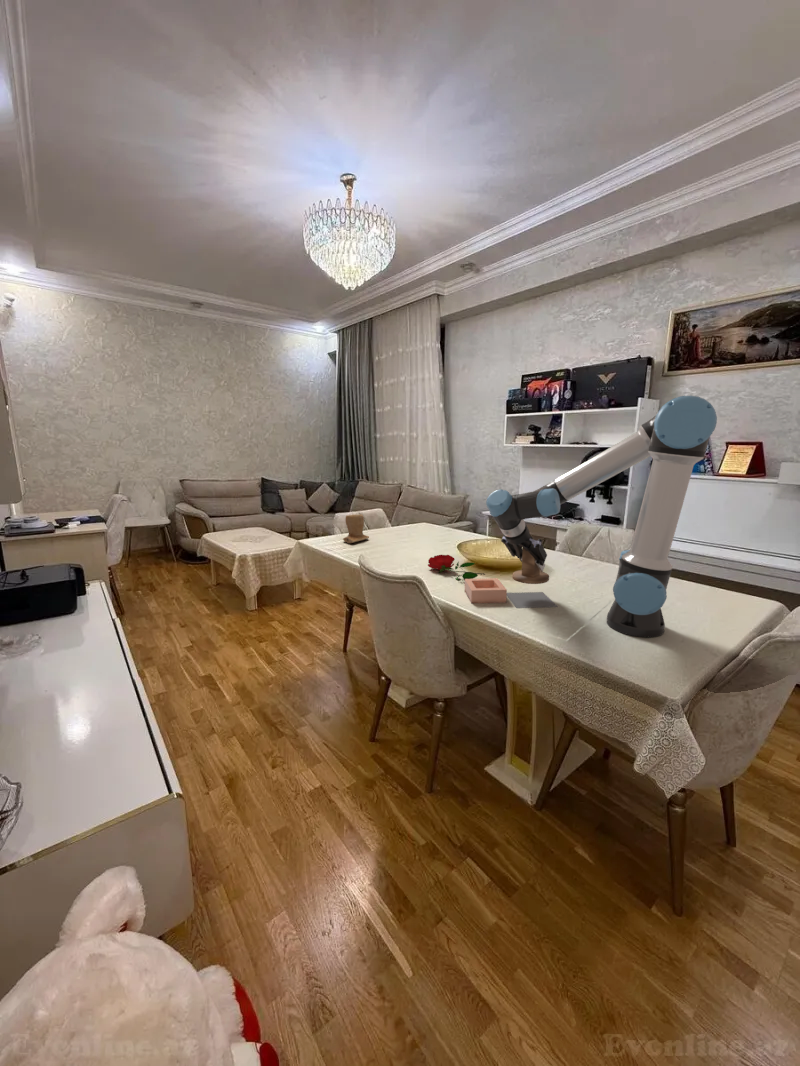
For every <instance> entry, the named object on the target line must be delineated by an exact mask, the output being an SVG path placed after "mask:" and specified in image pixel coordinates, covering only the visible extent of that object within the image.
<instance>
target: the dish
mask: <svg viewBox="0 0 800 1066" xmlns="http://www.w3.org/2000/svg"><path fill="white" fill-rule="evenodd" d="M507 591H508V589H507V588H506V587H505V585H504V584H502V582H501V581H500V580H499V578H497V577H495V578H494V577H492V578H490V577H489V578H486V577H485V578H473V579H464V593H465V595H466V597H467V599H468V601H469V602H470V604H502V603H504V604H505V603H507V593H508V592H507Z"/></svg>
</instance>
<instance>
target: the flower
mask: <svg viewBox="0 0 800 1066" xmlns="http://www.w3.org/2000/svg"><path fill="white" fill-rule="evenodd" d="M454 561H455V558H454V557H453V556H452V555H450V554H438V555H434V556H431V557H430V558H429V559H428V564H427V566H428V567H429V568H431V569H433V570H438V571H439V572H438V574H441V573H442V572H444V571H450V572H455V573H462V574H461V575H460V574H458V576H457V577H456V578H455V580H456V581H458V580H459V577H462V579H464V580H465V579H476V578H477V577H478V576H479V575H481V576H482V575H483V576H485V575H486V573H482V572H481V573H480V572H473V571H465V570H464V569H463V568H466V567H467V568H468V567H471V566H473V565H476V563H475V562H470V561H469V562H464V563H461V564H460V561H458V562H457V563H456V565H455V563H454ZM459 564H460V565H459ZM454 565H455V567H454V568H452V567H453V566H454ZM459 568H460V569H461V571H460V570H459V571H458V569H459Z"/></svg>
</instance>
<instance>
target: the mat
mask: <svg viewBox="0 0 800 1066" xmlns="http://www.w3.org/2000/svg"><path fill="white" fill-rule="evenodd" d="M506 598H508V600H509V601H510V602H511V603H512V605H513V606H514V607H515V608H516V609H535V608H537V609H538V608H539V609H540V608H541V609H542V608H558V607H559V606H558V605H557V604H556V603H555V602H554V601H553V600H552V599H551V598H550V597H549V596H548V595H547V594H545V593H544V592H543V591H534V592H533V591H529V592H523V591H522V592H507V596H506Z"/></svg>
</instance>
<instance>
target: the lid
mask: <svg viewBox="0 0 800 1066" xmlns="http://www.w3.org/2000/svg"><path fill="white" fill-rule="evenodd" d="M535 560H536V559H535V558H534V557H533V556H532V555H531V554H530V553H529V552H528V551H526V550H525V549H524V548H523V547H522V562H521V569H520V570H519V569H518V570H515V571H514V572H513V573H512V577H511V578H512V580H513V581H516V582H518V583H521V584H528V585H529V584H530V585H541V584H545V583H548V582H549V581H550V574H548V573H547V572H544V571H543V572H540V570H539V568H538V566H537V564H536V563H535Z"/></svg>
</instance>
